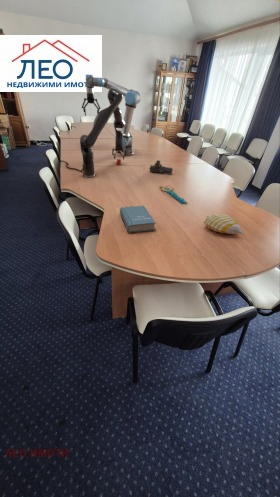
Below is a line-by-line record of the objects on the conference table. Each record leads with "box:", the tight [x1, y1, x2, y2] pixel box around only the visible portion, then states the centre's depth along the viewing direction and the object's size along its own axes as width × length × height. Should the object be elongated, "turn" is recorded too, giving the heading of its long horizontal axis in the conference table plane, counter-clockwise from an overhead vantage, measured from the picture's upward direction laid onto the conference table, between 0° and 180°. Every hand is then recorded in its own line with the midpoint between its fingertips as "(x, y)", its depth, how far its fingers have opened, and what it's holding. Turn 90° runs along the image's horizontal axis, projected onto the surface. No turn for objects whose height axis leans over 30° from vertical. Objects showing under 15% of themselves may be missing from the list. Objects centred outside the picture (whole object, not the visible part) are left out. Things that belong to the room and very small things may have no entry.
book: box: [119, 205, 156, 233], centre depth 136 cm, size 23×16×5 cm
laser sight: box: [148, 160, 173, 175], centre depth 216 cm, size 10×22×10 cm, turn 78°
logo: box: [159, 185, 188, 204], centre depth 175 cm, size 34×10×1 cm, turn 16°
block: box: [116, 158, 122, 166], centre depth 232 cm, size 4×4×5 cm
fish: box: [203, 213, 245, 235], centre depth 133 cm, size 25×8×20 cm
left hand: (119, 159), depth 230 cm, fingers open, 8 cm apart
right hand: (91, 116), depth 247 cm, fingers open, 13 cm apart
